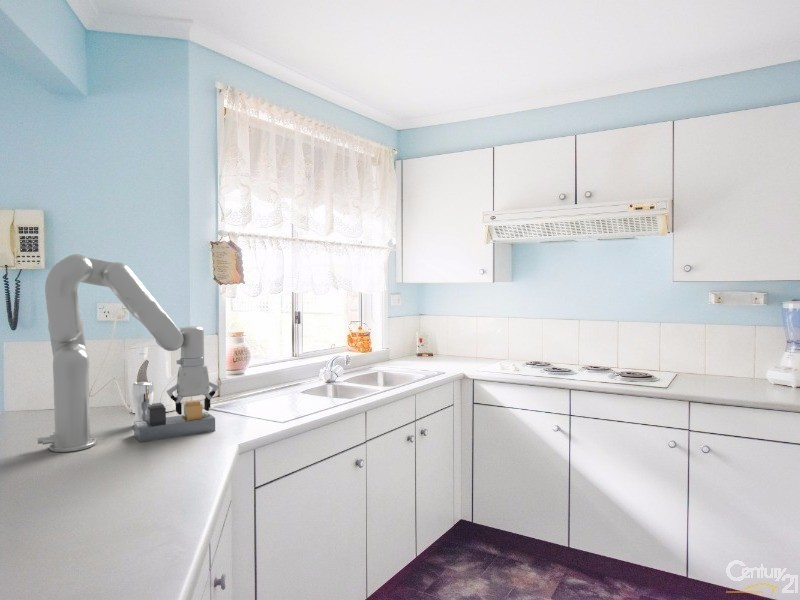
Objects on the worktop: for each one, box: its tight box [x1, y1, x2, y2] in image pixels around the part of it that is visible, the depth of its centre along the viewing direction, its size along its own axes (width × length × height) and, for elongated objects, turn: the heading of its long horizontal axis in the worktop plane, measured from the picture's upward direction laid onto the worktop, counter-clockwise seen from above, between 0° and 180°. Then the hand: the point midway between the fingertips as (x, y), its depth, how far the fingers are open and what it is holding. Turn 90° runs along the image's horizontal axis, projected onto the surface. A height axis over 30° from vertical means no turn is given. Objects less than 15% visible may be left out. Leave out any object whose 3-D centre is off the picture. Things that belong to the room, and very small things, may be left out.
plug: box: [183, 399, 203, 421], centre depth 193 cm, size 5×5×10 cm
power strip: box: [133, 402, 216, 443], centre depth 190 cm, size 24×10×10 cm, turn 125°
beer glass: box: [131, 381, 155, 422], centre depth 200 cm, size 7×7×15 cm
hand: (193, 411), depth 193 cm, fingers open, 8 cm apart
